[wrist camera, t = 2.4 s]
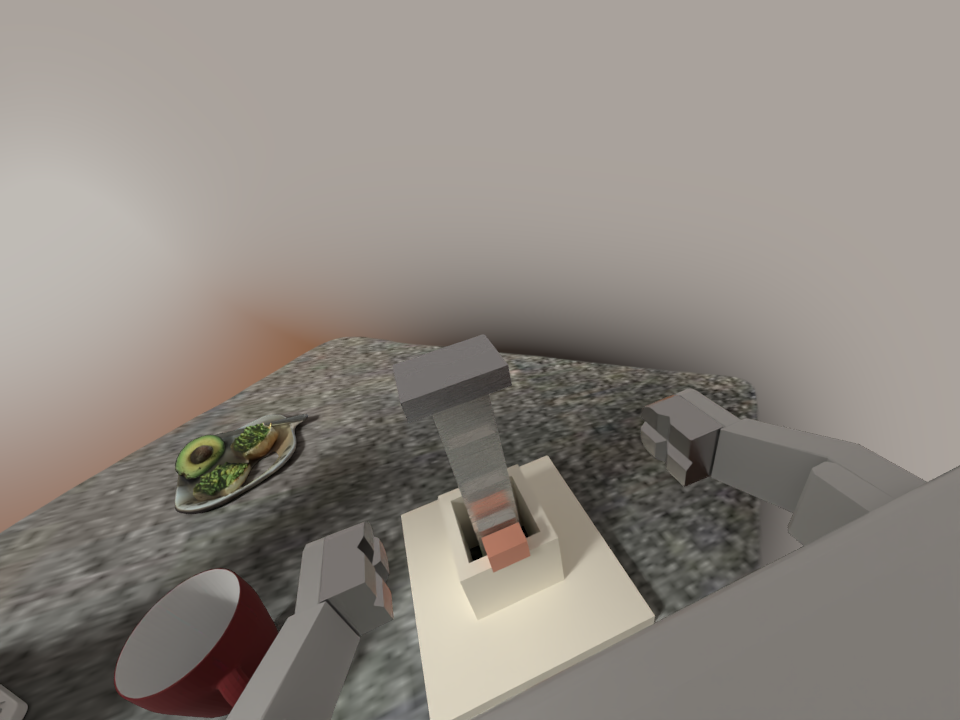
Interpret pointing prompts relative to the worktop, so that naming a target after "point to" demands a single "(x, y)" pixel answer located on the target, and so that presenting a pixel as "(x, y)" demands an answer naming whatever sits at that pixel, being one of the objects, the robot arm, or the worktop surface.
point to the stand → (513, 594)
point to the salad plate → (231, 461)
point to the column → (465, 423)
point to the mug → (196, 647)
